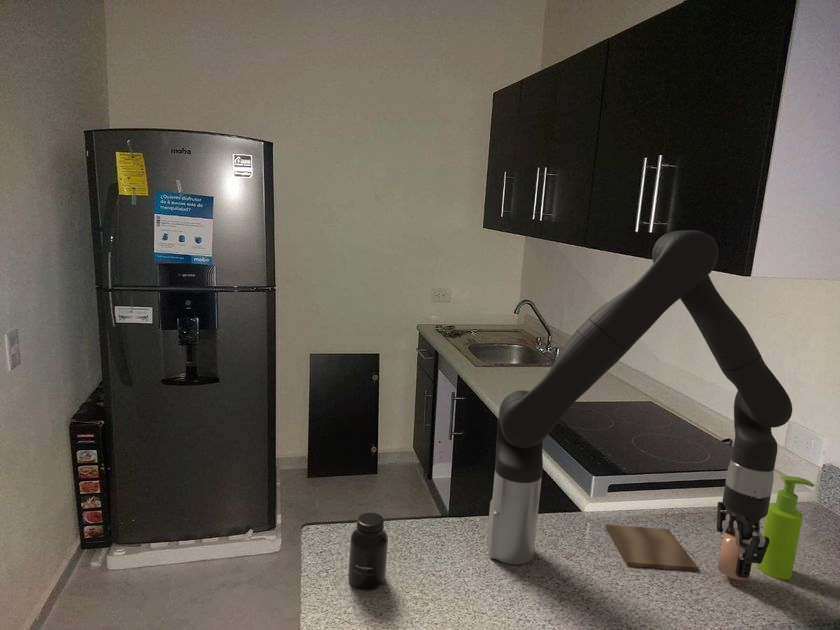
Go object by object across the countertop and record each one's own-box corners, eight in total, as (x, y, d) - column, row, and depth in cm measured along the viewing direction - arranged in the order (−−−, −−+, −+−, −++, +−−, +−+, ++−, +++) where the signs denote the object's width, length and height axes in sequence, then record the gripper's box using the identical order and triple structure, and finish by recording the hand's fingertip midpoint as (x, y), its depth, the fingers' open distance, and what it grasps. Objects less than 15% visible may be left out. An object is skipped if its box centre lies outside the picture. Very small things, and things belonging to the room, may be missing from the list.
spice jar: (726, 578, 104) (732, 545, 103) (712, 562, 110) (718, 530, 108) (753, 581, 104) (760, 547, 103) (739, 564, 109) (744, 532, 108)
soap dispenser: (802, 582, 107) (821, 487, 104) (764, 576, 109) (781, 482, 106) (789, 565, 113) (806, 474, 110) (752, 559, 114) (768, 469, 111)
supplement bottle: (356, 595, 96) (359, 532, 94) (342, 573, 102) (345, 513, 100) (391, 585, 99) (395, 524, 97) (377, 564, 105) (380, 506, 103)
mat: (627, 565, 109) (627, 562, 109) (605, 527, 123) (605, 524, 123) (697, 570, 109) (697, 567, 109) (667, 532, 123) (668, 529, 123)
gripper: (709, 468, 111) (697, 544, 114) (749, 503, 97) (734, 589, 100) (746, 471, 111) (733, 547, 114) (792, 506, 97) (775, 593, 100)
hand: (733, 567), depth 107 cm, fingers closed on spice jar, 5 cm apart
